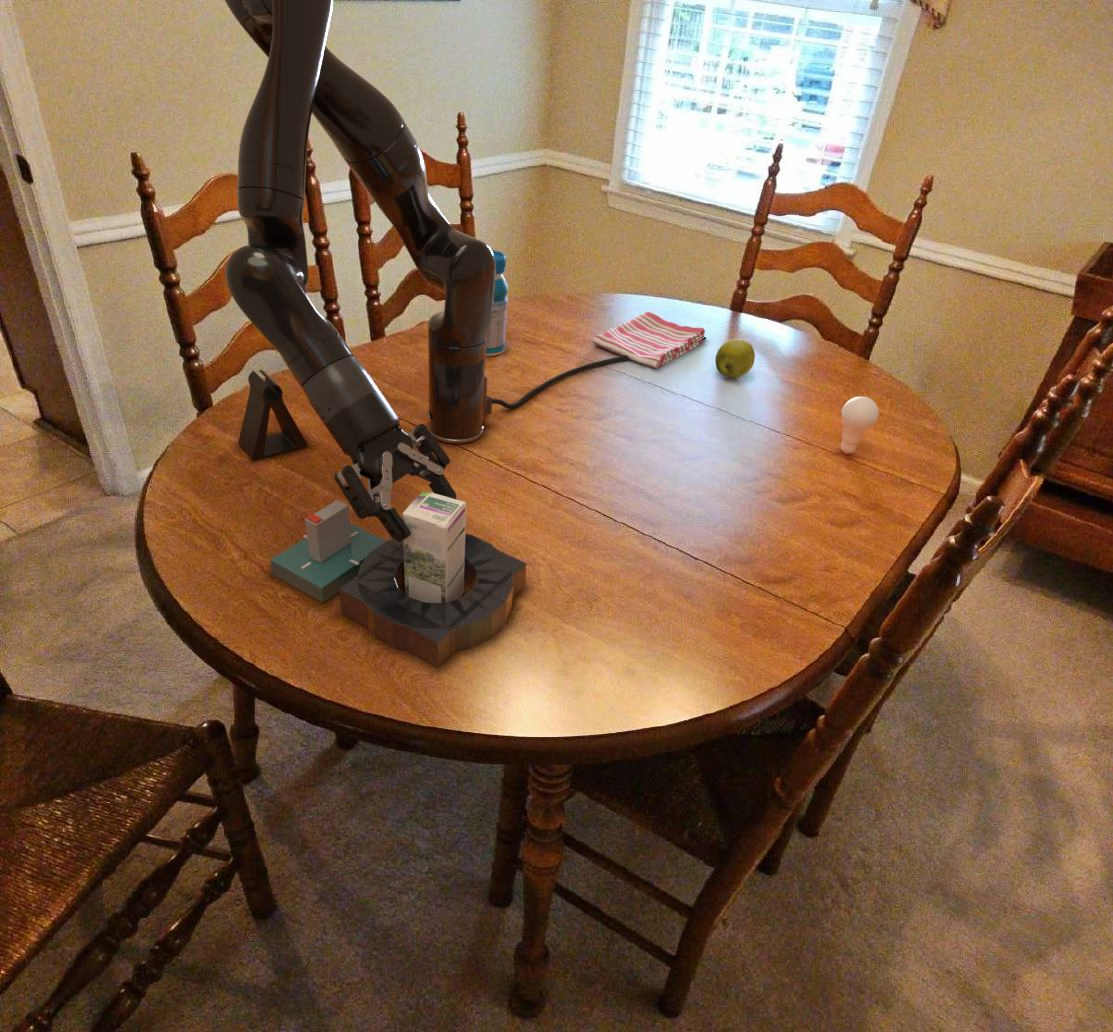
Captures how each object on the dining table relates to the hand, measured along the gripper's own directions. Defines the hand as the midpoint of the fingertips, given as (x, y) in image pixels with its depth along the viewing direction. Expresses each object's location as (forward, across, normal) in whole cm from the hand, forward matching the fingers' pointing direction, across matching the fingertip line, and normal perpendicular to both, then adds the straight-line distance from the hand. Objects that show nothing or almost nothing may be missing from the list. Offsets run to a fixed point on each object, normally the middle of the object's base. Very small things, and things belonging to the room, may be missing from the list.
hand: (429, 521), depth 91 cm
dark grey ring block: (+9, 0, +7) cm, 12 cm away
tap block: (-2, -3, +18) cm, 18 cm away
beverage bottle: (-20, +68, +37) cm, 80 cm away
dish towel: (-2, +96, +20) cm, 98 cm away
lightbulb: (+33, +76, -16) cm, 84 cm away
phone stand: (-22, +13, +39) cm, 46 cm away
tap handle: (-3, -3, +16) cm, 17 cm away
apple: (+13, +93, +5) cm, 94 cm away
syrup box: (+9, 0, +8) cm, 12 cm away
